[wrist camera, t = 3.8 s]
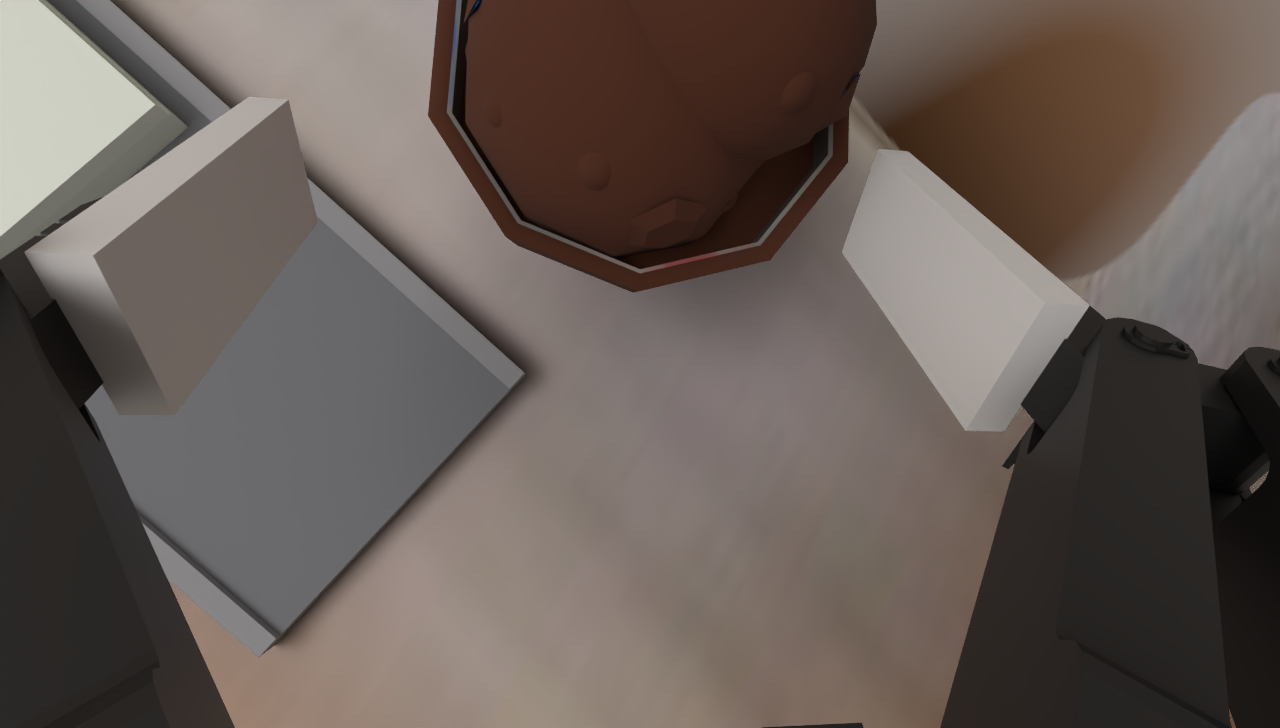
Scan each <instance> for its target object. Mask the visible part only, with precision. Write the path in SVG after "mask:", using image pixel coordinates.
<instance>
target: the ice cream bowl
mask: <svg viewBox="0 0 1280 728" xmlns="http://www.w3.org/2000/svg"><path fill="white" fill-rule="evenodd" d="M876 25H877V17H876V0H439V3H438V14H437V24H436V35H435V46H434V57H433V68H432V79H431V90H430V101H429V112H428V116H429V118H430V120H431V121H432V123H433V124H434V126H435V127H436V129H437V131H438V132H439V134H440V135H441V137H442V138H443V140H444V141H445V143H446V145H447V146H448V148H449V149H450V151H451V152H452V154H453V155H454V157H455V159H456V160H457V162H458V163H459V165H460V166H461V168H462V169H463V171H464V173H465V174H466V176H467V177H468V179H469V180H470V182H471V183H472V185H473V187H474V188H475V190H476V191H477V193H478V194H479V196H480V198H481V199H482V201H483V202H484V204H485V205H486V207H487V208H488V210H489V212H490V213H491V215H492V216H493V218H494V219H495V221H496V222H497V224H498V226H499V227H500V229H501V230H502V232H503V233H504V235H505V236H506V237H507V238H508V239H509V240H511V241H512V242H514V243H515V244H516V245H518V246H520V247H523V248H525V249H528V250H530V251H532V252H535V253H537V254H540V255H542V256H545V257H547V258H550V259H552V260H555V261H557V262H559V263H562V264H564V265H567V266H569V267H572V268H574V269H577V270H579V271H582V272H584V273H586V274H589V275H591V276H594V277H596V278H599V279H601V280H604V281H606V282H609V283H611V284H613V285H616V286H618V287H621V288H623V289H626V290H628V291H631V292H638V291H642V290H646V289H650V288H655V287H659V286H663V285H667V284H671V283H676V282H680V281H684V280H688V279H692V278H697V277H701V276H705V275H709V274H713V273H717V272H722V271H726V270H730V269H734V268H738V267H743V266H747V265H751V264H755V263H759V262H764V261H768V260H770V259H771V258H772V257H773V256H774V254H775V253H776V252H777V251H778V249H779V248H780V247H781V246H782V244H783V243H784V242H785V241H786V239H787V238H788V237H789V236H790V234H791V233H792V232H793V231H794V229H795V228H796V227H797V226H798V224H799V223H800V222H801V221H802V219H803V218H804V217H805V216H806V214H807V213H808V212H809V211H810V209H811V208H812V207H813V206H814V204H815V203H816V202H817V201H818V199H819V198H820V197H821V196H822V194H823V193H824V192H825V191H826V189H827V188H828V187H829V186H830V184H831V183H832V182H833V181H834V179H835V178H836V177H837V175H838V174H839V173H840V172H841V170H842V169H843V168H844V167H845V165H846V164H847V163H848V133H849V107H850V104H851V101H852V98H853V95H854V92H855V89H856V86H857V83H858V80H859V77H860V74H859V72H860V71H861V69H862V68H863V67H864V65H865V62H866V58H867V55H868V52H869V48H870V45H871V42H872V39H873V35H874V32H875V29H876Z"/></svg>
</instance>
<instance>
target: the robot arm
mask: <svg viewBox="0 0 1280 728" xmlns="http://www.w3.org/2000/svg"><path fill="white" fill-rule="evenodd" d="M317 222H318V220H317V216H316V212H315V208H314V204H313V199H312V195H311V191H310V187H309V183H308V179H307V175H306V171H305V166H304V162H303V158H302V154H301V150H300V146H299V142H298V137H297V133H296V129H295V125H294V121H293V117H292V113H291V109H290V104H289V100H284V99H272V98H260V97H248V98H246V99H245V100H243V101H242V102H241V103H239V104H238V105H236V106H235V107H233V108H232V109H230V110H229V111H228V112H226V113H225V114H223V115H222V116H220V117H219V118H217V119H216V120H214V121H213V122H212V123H210V124H209V125H207V126H206V127H204V128H203V129H201V130H200V131H199V132H197V133H196V134H194V135H193V136H191V137H190V138H188V139H187V140H186V141H184V142H183V143H181V144H180V145H178V146H177V147H175V148H174V149H172V150H171V151H170V152H168V153H167V154H165V155H164V156H162V157H161V158H159V159H158V160H157V161H155V162H154V163H152V164H151V165H149V166H148V167H146V168H145V169H144V170H142V171H141V172H139V173H138V174H136V175H135V176H133V177H132V178H131V179H129V180H128V181H126V182H125V183H123V184H122V185H120V186H119V187H117V188H116V189H115V190H113V191H112V192H110V193H109V194H107V195H106V196H104V197H101V198H98V199H96V200H93V201H90V202H88V203H85V204H82V205H80V206H79V207H77V208H76V209H74V210H73V211H71V212H70V213H68V214H67V215H65V216H64V217H62V218H61V219H59V223H54V224H52V225H51V226H49V227H48V228H46V229H45V230H43V231H42V232H40V233H41V236H34V237H33V238H31V239H30V240H28V241H27V242H25V243H24V244H22V245H21V246H19V247H18V248H17V249H15V250H14V251H12V252H11V253H9V254H8V255H6V256H5V257H3V258H2V259H0V728H235V727H234V725H233V723H232V720H231V718H230V716H229V714H228V711H227V709H226V707H225V705H224V703H223V700H222V698H221V696H220V694H219V692H218V689H217V687H216V685H215V683H214V681H213V678H212V676H211V674H210V672H209V670H208V667H207V665H206V663H205V661H204V659H203V656H202V654H201V652H200V650H199V648H198V645H197V643H196V641H195V639H194V636H193V634H192V632H191V630H190V628H189V625H188V623H187V621H186V619H185V617H184V614H183V612H182V610H181V608H180V606H179V603H178V601H177V599H176V597H175V595H174V592H173V590H172V588H171V586H170V584H169V581H168V579H167V577H166V575H165V573H164V570H163V568H162V566H161V564H160V561H159V559H158V557H157V555H156V553H155V550H154V548H153V546H152V544H151V542H150V539H149V537H148V535H147V533H146V531H145V528H144V526H143V524H142V522H141V520H140V517H139V515H138V513H137V511H136V509H135V506H134V504H133V502H132V500H131V498H130V495H129V493H128V491H127V489H126V486H125V484H124V482H123V480H122V478H121V475H120V473H119V471H118V469H117V467H116V464H115V462H114V460H113V458H112V456H111V453H110V451H109V449H108V447H107V445H106V442H105V440H104V438H103V436H102V434H101V431H100V429H99V427H98V425H97V423H96V421H95V419H94V417H93V416H92V414H91V413H90V411H89V409H88V408H87V406H86V405H85V402H86V401H87V400H88V399H89V398H90V397H91V396H92V395H93V394H94V393H95V392H96V390H97V389H98V388H99V387H100V386H101V385H102V386H103V387H104V389H105V391H106V393H107V394H108V396H109V398H110V399H111V401H112V403H113V404H114V406H115V408H116V410H117V411H118V413H119V415H166V416H175V415H176V413H177V412H178V411H179V409H180V408H181V406H182V405H183V404H184V402H185V401H186V400H187V398H188V397H189V396H190V394H191V393H192V392H193V390H194V389H195V387H196V386H197V385H198V383H199V382H200V381H201V379H202V378H203V377H204V375H205V374H206V373H207V371H208V370H209V368H210V367H211V366H212V364H213V363H214V362H215V360H216V359H217V358H218V356H219V355H220V354H221V352H222V351H223V349H224V348H225V347H226V345H227V344H228V343H229V341H230V340H231V339H232V337H233V336H234V335H235V333H236V332H237V330H238V329H239V328H240V326H241V325H242V324H243V322H244V321H245V320H246V318H247V317H248V316H249V314H250V313H251V311H252V310H253V309H254V307H255V306H256V305H257V303H258V302H259V301H260V299H261V298H262V297H263V295H264V294H265V292H266V291H267V290H268V288H269V287H270V286H271V284H272V283H273V282H274V280H275V279H276V278H277V276H278V275H279V273H280V272H281V271H282V269H283V268H284V267H285V265H286V264H287V263H288V261H289V260H290V259H291V257H292V256H293V254H294V253H295V252H296V250H297V249H298V248H299V246H300V245H301V244H302V242H303V241H304V240H305V238H306V237H307V235H308V234H309V233H310V231H311V230H312V229H313V227H314V226H315V225H316V223H317ZM842 254H843V255H844V257H845V258H846V259H847V261H848V262H849V264H850V265H851V267H852V268H853V270H854V271H855V272H856V274H857V275H858V277H859V278H860V280H861V281H862V283H863V284H864V285H865V287H866V288H867V290H868V291H869V293H870V294H871V295H872V297H873V298H874V300H875V301H876V303H877V304H878V306H879V307H880V308H881V310H882V311H883V313H884V314H885V316H886V317H887V319H888V320H889V321H890V323H891V324H892V326H893V327H894V329H895V330H896V331H897V333H898V334H899V336H900V337H901V339H902V340H903V342H904V343H905V344H906V346H907V347H908V349H909V350H910V352H911V353H912V355H913V356H914V357H915V359H916V360H917V362H918V363H919V365H920V366H921V367H922V369H923V370H924V372H925V373H926V375H927V376H928V378H929V379H930V380H931V382H932V383H933V385H934V386H935V388H936V389H937V390H938V392H939V393H940V395H941V396H942V398H943V399H944V401H945V402H946V403H947V405H948V406H949V408H950V409H951V411H952V412H953V414H954V415H955V416H956V418H957V419H958V421H959V422H960V424H961V425H962V426H963V428H964V429H965V431H997V432H1004V431H1005V430H1006V428H1007V427H1008V425H1009V424H1010V422H1011V421H1012V419H1013V418H1014V416H1015V415H1016V413H1017V412H1018V410H1019V409H1020V408H1021V406H1023V408H1024V409H1025V410H1026V411H1027V412H1028V414H1029V415H1030V416H1031V417H1032V418H1033V420H1034V422H1033V423H1032V425H1031V426H1030V428H1029V429H1028V430H1027V432H1026V433H1025V435H1024V436H1023V437H1022V439H1021V440H1020V442H1019V443H1018V444H1017V446H1016V447H1015V449H1014V450H1013V451H1012V453H1011V454H1010V456H1009V457H1008V458H1007V460H1006V461H1005V463H1004V464H1003V467H1005V468H1007V469H1009V468H1010V467H1011V466H1012V465H1013V464H1015V466H1014V469H1013V473H1012V476H1011V480H1010V483H1009V487H1008V491H1007V494H1006V498H1005V501H1004V505H1003V508H1002V512H1001V515H1000V519H999V522H998V526H997V529H996V533H995V536H994V540H993V543H992V547H991V550H990V554H989V558H988V561H987V565H986V568H985V572H984V575H983V579H982V582H981V586H980V589H979V593H978V596H977V600H976V603H975V607H974V610H973V614H972V617H971V621H970V625H969V628H968V632H967V635H966V639H965V642H964V646H963V649H962V653H961V656H960V660H959V663H958V667H957V670H956V674H955V677H954V681H953V684H952V688H951V692H950V695H949V699H948V702H947V706H946V709H945V713H944V716H943V720H942V723H941V727H940V728H1232V727H1231V723H1230V717H1229V709H1230V712H1231V714H1232V717H1233V720H1234V723H1235V725H1236V728H1280V351H1279V350H1274V349H1269V348H1263V347H1252V348H1248V349H1247V350H1246V351H1245V352H1243V354H1242V355H1241V356H1240V357H1239V358H1238V359H1237V360H1236V361H1235V362H1234V363H1233V364H1232V365H1231V367H1230V368H1229V369H1228V370H1225V369H1220V368H1216V367H1212V366H1207V365H1203V364H1198V361H1197V357H1196V355H1195V353H1194V351H1193V350H1192V349H1191V348H1190V347H1189V345H1188V344H1186V343H1184V342H1183V341H1182V340H1180V339H1179V338H1177V337H1175V336H1174V335H1172V334H1170V333H1169V332H1168V331H1166V330H1164V329H1162V328H1160V327H1158V326H1155V325H1151V324H1148V323H1144V322H1140V321H1137V320H1133V319H1126V318H1112V319H1107V320H1106V319H1105V318H1104V317H1103V316H1101V315H1100V314H1099V313H1098V312H1097V311H1095V310H1094V309H1093V308H1092V307H1091V306H1090V305H1089V304H1088V303H1086V302H1085V301H1084V300H1083V299H1082V298H1080V297H1079V296H1078V295H1077V294H1076V293H1075V292H1073V291H1072V290H1071V289H1070V288H1069V287H1068V286H1066V285H1065V284H1064V283H1063V282H1062V281H1060V280H1059V279H1058V278H1057V277H1056V276H1055V275H1053V274H1052V273H1051V272H1050V271H1049V270H1047V269H1046V268H1045V267H1044V266H1043V265H1042V264H1040V263H1039V262H1038V261H1037V260H1036V259H1034V258H1033V257H1032V256H1031V255H1030V254H1028V253H1027V252H1026V251H1025V250H1024V249H1023V248H1021V247H1020V246H1019V245H1018V244H1017V243H1015V242H1014V241H1013V240H1012V239H1011V238H1010V237H1008V236H1007V235H1006V234H1005V233H1004V232H1003V231H1001V230H1000V229H999V228H998V227H997V226H995V225H994V224H993V223H992V222H991V221H990V220H988V219H987V218H986V217H985V216H983V215H982V214H981V213H980V212H979V211H978V210H977V209H975V208H974V207H973V206H972V205H971V204H970V203H968V202H967V201H966V200H965V199H963V198H962V197H961V196H960V195H959V194H958V193H956V192H955V191H954V190H953V189H952V188H950V187H949V186H948V185H947V184H946V183H945V182H944V181H942V180H941V179H940V178H939V177H937V176H936V175H935V174H934V173H933V172H932V171H931V170H929V169H928V168H927V167H926V166H925V165H923V164H922V163H921V162H920V161H919V160H917V159H916V158H915V157H914V156H913V155H912V154H910V153H909V152H908V151H897V150H885V149H878V150H877V153H876V156H875V159H874V162H873V164H872V167H871V170H870V173H869V176H868V179H867V181H866V184H865V187H864V190H863V193H862V196H861V199H860V201H859V204H858V207H857V210H856V213H855V216H854V218H853V221H852V224H851V227H850V230H849V233H848V236H847V238H846V241H845V244H844V247H843V250H842ZM1268 470H1269V473H1268V475H1267V478H1266V480H1265V481H1264V482H1263V484H1262V485H1261V486H1260V487H1259V488H1258V489H1257V490H1256V491H1255V492H1254V493H1253V494H1252V493H1251V491H1250V489H1249V487H1250V486H1252V485H1253V484H1254V483H1255V482H1256V481H1257V480H1258V479H1259V478H1261V477H1262V476H1263V475H1264V474H1265V473H1266V472H1267V471H1268ZM763 728H863V725H862V723H847V724H826V725H805V726H784V727H763Z"/></svg>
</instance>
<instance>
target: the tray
mask: <svg viewBox="0 0 1280 728" xmlns="http://www.w3.org/2000/svg"><path fill="white" fill-rule="evenodd" d="M47 1H48V2H49V3H50V4H51V5H53V6H54V7H55V8H56V9H57V10H58V11H59V12H60V13H61V14H63V15H64V16H65V17H66V18H67V19H68V20H69V21H70V22H72V23H73V24H74V25H75V26H76V27H77V28H78V29H79V30H80V31H82V32H83V33H84V34H85V35H86V36H87V37H88V38H89V39H91V40H92V41H93V42H94V43H95V44H96V45H97V46H98V47H99V48H101V49H102V50H103V51H104V52H105V53H106V54H107V55H108V56H110V57H111V58H112V59H113V60H114V61H115V62H116V63H117V64H118V65H120V66H121V67H122V68H123V69H124V70H125V71H126V72H127V73H129V74H130V75H131V76H132V77H133V78H134V79H135V80H136V81H137V82H139V83H140V84H141V85H142V86H143V87H144V88H145V89H146V90H148V91H149V92H150V93H151V94H152V95H153V96H154V97H155V98H156V99H158V100H159V101H160V102H161V103H162V104H163V105H164V106H165V107H167V108H168V109H169V110H170V111H171V112H172V113H173V114H174V115H175V116H177V117H178V118H179V119H180V120H181V121H182V122H183V123H184V124H186V125H187V126H188V128H187V129H185V130H184V131H183V132H182V133H181V134H180V135H179V136H177V137H176V138H175V139H174V140H173V141H172V142H170V143H169V144H168V145H167V146H166V147H165V148H164V149H162V150H161V151H160V152H159V153H158V154H157V155H156V156H154V157H153V158H152V159H151V160H150V161H149V162H147V163H146V164H145V165H144V166H143V167H142V168H141V169H139V170H138V171H137V172H136V173H135V174H134V175H132V176H131V177H130V178H129V179H131V178H132V177H133V176H135V175H136V174H138V173H139V172H141V171H142V170H144V169H145V168H146V167H148V166H149V165H151V164H152V163H154V162H155V161H157V160H158V159H159V158H161V157H162V156H164V155H165V154H167V153H168V152H170V151H171V150H172V149H174V148H175V147H177V146H178V145H180V144H181V143H183V142H184V141H186V140H187V139H188V138H190V137H191V136H193V135H194V134H196V133H197V132H199V131H200V130H201V129H203V128H204V127H206V126H207V125H209V124H210V123H212V122H213V121H214V120H216V119H217V118H219V117H220V116H222V115H223V114H225V113H226V112H228V111H229V110H230V108H229V107H228V106H227V105H226V104H225V103H224V102H223V101H221V100H220V99H219V98H218V97H217V96H216V95H215V94H214V93H213V92H211V91H210V90H209V89H208V88H207V87H206V86H205V85H204V84H203V83H201V82H200V81H199V80H198V79H197V78H196V77H195V76H194V75H193V74H191V73H190V72H189V71H188V70H187V69H186V68H185V67H184V66H182V65H181V64H180V63H179V62H178V61H177V60H176V59H175V58H174V57H172V56H171V55H170V54H169V53H168V52H167V51H166V50H165V49H164V48H162V47H161V46H160V45H159V44H158V43H157V42H156V41H155V40H154V39H152V38H151V37H150V36H149V35H148V34H147V33H146V32H145V31H144V30H142V29H141V28H140V27H139V26H138V25H137V24H136V23H135V22H134V21H132V20H131V19H130V18H129V17H128V16H127V15H126V14H125V13H124V12H122V11H121V10H120V9H119V8H118V7H117V6H116V5H115V4H113V3H112V2H111V1H110V0H47ZM129 179H128V180H129ZM307 179H308V178H307ZM128 180H127V181H128ZM124 183H125V182H124ZM308 183H309V187H310V191H311V195H312V199H313V204H314V208H315V212H316V216H317V220H318V222H317V223H316V225H315V226H314V227H313V229H312V230H311V231H310V233H309V234H308V235H307V237H306V238H305V240H304V241H303V242H302V244H301V245H300V246H299V248H298V249H297V250H296V252H295V253H294V254H293V256H292V257H291V259H290V260H289V261H288V263H287V264H286V265H285V267H284V268H283V269H282V271H281V272H280V273H279V275H278V276H277V278H276V279H275V280H274V282H273V283H272V284H271V286H270V287H269V288H268V290H267V291H266V292H265V294H264V295H263V297H262V298H261V299H260V301H259V302H258V303H257V305H256V306H255V307H254V309H253V310H252V311H251V313H250V314H249V316H248V317H247V318H246V320H245V321H244V322H243V324H242V325H241V326H240V328H239V329H238V330H237V332H236V333H235V335H234V336H233V337H232V339H231V340H230V341H229V343H228V344H227V345H226V347H225V348H224V349H223V351H222V352H221V354H220V355H219V356H218V358H217V359H216V360H215V362H214V363H213V364H212V366H211V367H210V368H209V370H208V371H207V373H206V374H205V375H204V377H203V378H202V379H201V381H200V382H199V383H198V385H197V386H196V387H195V389H194V390H193V392H192V393H191V394H190V396H189V397H188V398H187V400H186V401H185V402H184V404H183V405H182V406H181V408H180V409H179V411H178V412H177V413H176V415H175V416H166V415H119V413H118V411H117V410H116V408H115V406H114V404H113V403H112V401H111V399H110V398H109V396H108V394H107V393H106V391H105V389H104V387H103V386H102V385H101V386H100V387H99V388H98V389H97V390H96V392H95V393H94V394H93V395H92V396H91V397H90V398H89V399H88V400H87V401H86V402H85V405H86V406H87V408H88V409H89V411H90V413H91V414H92V416H93V417H94V419H95V421H96V423H97V425H98V427H99V429H100V431H101V434H102V436H103V438H104V440H105V442H106V445H107V447H108V449H109V451H110V453H111V456H112V458H113V460H114V462H115V464H116V467H117V469H118V471H119V473H120V475H121V478H122V480H123V482H124V484H125V486H126V489H127V491H128V493H129V495H130V498H131V500H132V502H133V504H134V506H135V509H136V511H137V513H138V515H139V517H140V520H141V522H142V524H143V526H144V528H145V531H146V533H147V535H148V537H149V539H150V542H151V544H152V546H153V548H154V550H155V553H156V555H157V557H158V559H159V561H160V564H161V566H162V568H163V570H164V573H165V575H166V577H167V579H168V580H169V581H170V582H171V583H172V584H173V585H174V586H176V587H177V588H178V589H179V590H180V591H181V592H182V593H184V594H185V595H186V596H187V597H188V598H189V599H191V600H192V601H193V602H194V603H195V604H196V605H198V606H199V607H200V608H201V609H202V610H203V611H205V612H206V613H207V614H208V615H209V616H210V617H211V618H213V619H214V620H215V621H216V622H217V623H218V624H220V625H221V626H222V627H223V628H224V629H225V630H227V631H228V632H229V633H230V634H231V635H232V636H234V637H235V638H236V639H237V640H238V641H239V642H240V643H242V644H243V645H244V646H245V647H246V648H247V649H249V650H250V651H251V652H252V653H253V654H254V655H256V656H257V657H258V658H259V657H260V656H261V655H262V654H264V653H265V652H266V651H268V650H269V649H270V648H271V647H273V646H274V645H275V644H276V643H277V642H278V641H279V639H280V638H281V637H282V636H283V635H284V634H285V633H286V632H287V631H288V630H289V629H290V628H291V627H292V626H293V624H294V623H295V622H296V621H297V620H298V619H299V618H300V617H301V616H302V615H303V614H304V613H305V612H306V611H307V609H308V608H309V607H310V606H311V605H312V604H313V603H314V602H315V601H316V600H317V599H318V598H319V597H320V596H321V594H322V593H323V592H324V591H325V590H326V589H327V588H328V587H329V586H330V585H331V584H332V583H333V582H334V581H335V579H336V578H337V577H338V576H339V575H340V574H341V573H342V572H343V571H344V570H345V569H346V568H347V567H348V566H349V564H350V563H351V562H352V561H353V560H354V559H355V558H356V557H357V556H358V555H359V554H360V553H361V552H362V551H363V550H364V548H365V547H366V546H367V545H368V544H369V543H370V542H371V541H372V540H373V539H374V538H375V537H376V536H377V535H378V533H379V532H380V531H381V530H382V529H383V528H384V527H385V526H386V525H387V524H388V523H389V522H390V521H391V520H392V518H393V517H394V516H395V515H396V514H397V513H398V512H399V511H400V510H401V509H402V508H403V507H404V506H405V505H406V503H407V502H408V501H409V500H410V499H411V498H412V497H413V496H414V495H415V494H416V493H417V492H418V491H419V490H420V488H421V487H422V486H423V485H424V484H425V483H426V482H427V481H428V480H429V479H430V478H431V477H432V476H433V475H434V473H435V472H436V471H437V470H438V469H439V468H440V467H441V466H442V465H443V464H444V463H445V462H446V461H447V460H448V458H449V457H450V456H451V455H452V454H453V453H454V452H455V451H456V450H457V449H458V448H459V447H460V446H461V445H462V443H463V442H464V441H465V440H466V439H467V438H468V437H469V436H470V435H471V434H472V433H473V432H474V431H475V430H476V428H477V427H478V426H479V425H480V424H481V423H482V422H483V421H484V420H485V419H486V418H487V417H488V416H489V415H490V414H491V412H492V411H493V410H494V409H495V408H496V407H497V406H498V405H499V404H500V403H501V402H502V401H503V400H504V399H505V397H506V396H507V395H508V394H509V393H510V392H511V391H512V390H513V389H514V388H515V387H516V386H517V385H518V384H519V382H520V381H521V380H522V379H523V378H524V377H525V376H526V374H525V373H524V372H523V371H522V370H521V369H520V368H519V367H517V366H516V365H515V364H514V363H513V362H512V361H511V360H510V359H509V358H507V357H506V356H505V355H504V354H503V353H502V352H501V351H500V350H499V349H497V348H496V347H495V346H494V345H493V344H492V343H491V342H490V341H489V340H487V339H486V338H485V337H484V336H483V335H482V334H481V333H480V332H479V331H477V330H476V329H475V328H474V327H473V326H472V325H471V324H470V323H468V322H467V321H466V320H465V319H464V318H463V317H462V316H461V315H460V314H458V313H457V312H456V311H455V310H454V309H453V308H452V307H451V306H450V305H448V304H447V303H446V302H445V301H444V300H443V299H442V298H441V297H440V296H438V295H437V294H436V293H435V292H434V291H433V290H432V289H431V288H430V287H428V286H427V285H426V284H425V283H424V282H423V281H422V280H421V279H420V278H418V277H417V276H416V275H415V274H414V273H413V272H412V271H411V270H410V269H408V268H407V267H406V266H405V265H404V264H403V263H402V262H401V261H399V260H398V259H397V258H396V257H395V256H394V255H393V254H392V253H391V252H389V251H388V250H387V249H386V248H385V247H384V246H383V245H382V244H381V243H379V242H378V241H377V240H376V239H375V238H374V237H373V236H372V235H371V234H369V233H368V232H367V231H366V230H365V229H364V228H363V227H362V226H361V225H359V224H358V223H357V222H356V221H355V220H354V219H353V218H352V217H351V216H349V215H348V214H347V213H346V212H345V211H344V210H343V209H342V208H341V207H339V206H338V205H337V204H336V203H335V202H334V201H333V200H332V199H330V198H329V197H328V196H327V195H326V194H325V193H324V192H323V191H322V190H320V189H319V188H318V187H317V186H316V185H315V184H314V183H313V182H312V181H310V180H309V179H308Z"/></svg>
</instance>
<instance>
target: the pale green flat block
mask: <svg viewBox="0 0 1280 728" xmlns="http://www.w3.org/2000/svg"><path fill="white" fill-rule="evenodd" d="M187 128H188V126H187V125H186V124H184V123H183V122H182V121H181V120H180V119H179V118H178V117H177V116H175V115H174V114H173V113H172V112H171V111H170V110H169V109H168V108H167V107H165V106H164V105H163V104H162V103H161V102H160V101H159V100H158V99H156V98H155V97H154V96H153V95H152V94H151V93H150V92H149V91H148V90H146V89H145V88H144V87H143V86H142V85H141V84H140V83H139V82H137V81H136V80H135V79H134V78H133V77H132V76H131V75H130V74H129V73H127V72H126V71H125V70H124V69H123V68H122V67H121V66H120V65H118V64H117V63H116V62H115V61H114V60H113V59H112V58H111V57H110V56H108V55H107V54H106V53H105V52H104V51H103V50H102V49H101V48H99V47H98V46H97V45H96V44H95V43H94V42H93V41H92V40H91V39H89V38H88V37H87V36H86V35H85V34H84V33H83V32H82V31H80V30H79V29H78V28H77V27H76V26H75V25H74V24H73V23H72V22H70V21H69V20H68V19H67V18H66V17H65V16H64V15H63V14H61V13H60V12H59V11H58V10H57V9H56V8H55V7H54V6H53V5H51V4H50V3H49V2H48V1H47V0H0V259H2V258H3V257H5V256H6V255H8V254H9V253H11V252H12V251H14V250H15V249H17V248H18V247H19V246H21V245H22V244H24V243H25V242H27V241H28V240H30V239H31V238H33V237H34V236H41V233H40V232H42V231H43V230H45V229H46V228H48V227H49V226H51V225H52V224H54V223H59V219H61V218H62V217H64V216H65V215H67V214H68V213H70V212H71V211H73V210H74V209H76V208H77V207H79V206H80V205H82V204H85V203H88V202H90V201H93V200H96V199H98V198H101V197H104V196H106V195H107V194H109V193H110V192H112V191H113V190H115V189H116V188H117V187H119V186H120V185H122V184H123V183H124V182H126V181H127V180H128V179H129V178H130V177H131V176H132V175H134V174H135V173H136V172H137V171H138V170H139V169H141V168H142V167H143V166H144V165H145V164H146V163H147V162H149V161H150V160H151V159H152V158H153V157H154V156H156V155H157V154H158V153H159V152H160V151H161V150H162V149H164V148H165V147H166V146H167V145H168V144H169V143H170V142H172V141H173V140H174V139H175V138H176V137H177V136H179V135H180V134H181V133H182V132H183V131H184V130H185V129H187Z"/></svg>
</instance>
